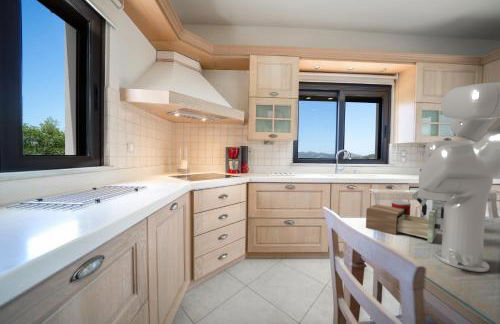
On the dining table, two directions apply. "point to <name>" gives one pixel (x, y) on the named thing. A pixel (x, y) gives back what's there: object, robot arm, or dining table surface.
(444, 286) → the dining table surface
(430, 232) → the drawer
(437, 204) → the supplement box
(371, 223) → the cabinet
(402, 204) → the canned food
